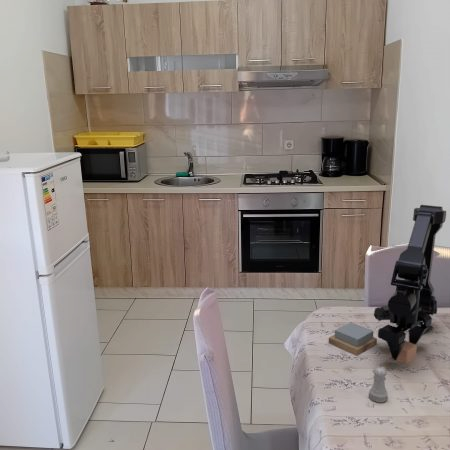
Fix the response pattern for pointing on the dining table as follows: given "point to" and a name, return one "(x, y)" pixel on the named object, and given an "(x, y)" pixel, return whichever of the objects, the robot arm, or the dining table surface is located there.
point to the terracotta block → (407, 352)
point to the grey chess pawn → (379, 385)
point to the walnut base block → (350, 347)
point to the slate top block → (354, 334)
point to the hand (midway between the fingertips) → (403, 353)
